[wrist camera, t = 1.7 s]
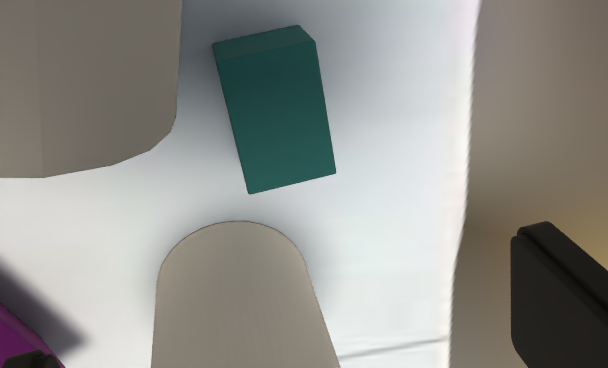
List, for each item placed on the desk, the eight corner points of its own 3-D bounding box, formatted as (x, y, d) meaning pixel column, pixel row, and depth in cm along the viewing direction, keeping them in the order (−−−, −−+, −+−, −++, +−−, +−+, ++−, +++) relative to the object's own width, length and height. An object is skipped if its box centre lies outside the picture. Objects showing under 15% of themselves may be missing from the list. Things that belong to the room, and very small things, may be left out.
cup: (154, 346, 32) (139, 568, 21) (159, 218, 28) (145, 405, 18) (296, 344, 33) (348, 546, 23) (317, 223, 30) (389, 395, 20)
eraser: (211, 42, 25) (215, 62, 22) (299, 23, 25) (315, 40, 22) (241, 163, 28) (248, 195, 25) (320, 144, 28) (337, 174, 25)
